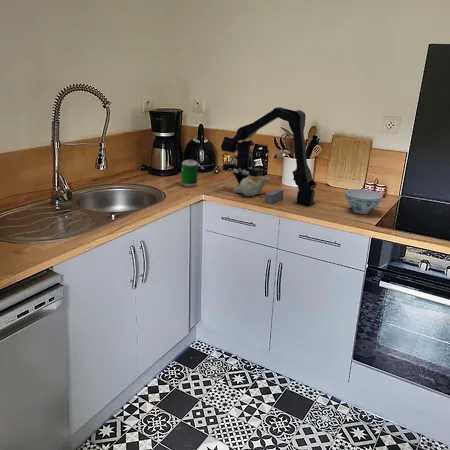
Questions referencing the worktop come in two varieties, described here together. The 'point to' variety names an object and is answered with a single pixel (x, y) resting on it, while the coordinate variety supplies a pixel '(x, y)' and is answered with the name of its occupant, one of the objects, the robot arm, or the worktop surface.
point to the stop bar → (274, 196)
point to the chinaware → (363, 200)
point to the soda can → (189, 173)
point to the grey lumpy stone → (251, 186)
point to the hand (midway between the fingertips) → (241, 187)
